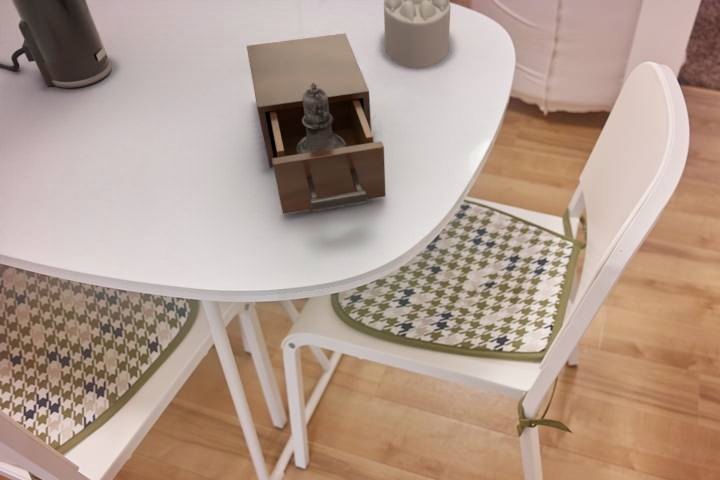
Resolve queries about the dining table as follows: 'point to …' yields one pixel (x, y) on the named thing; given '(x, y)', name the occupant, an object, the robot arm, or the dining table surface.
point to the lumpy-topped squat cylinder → (416, 31)
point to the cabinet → (303, 77)
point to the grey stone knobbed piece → (318, 123)
